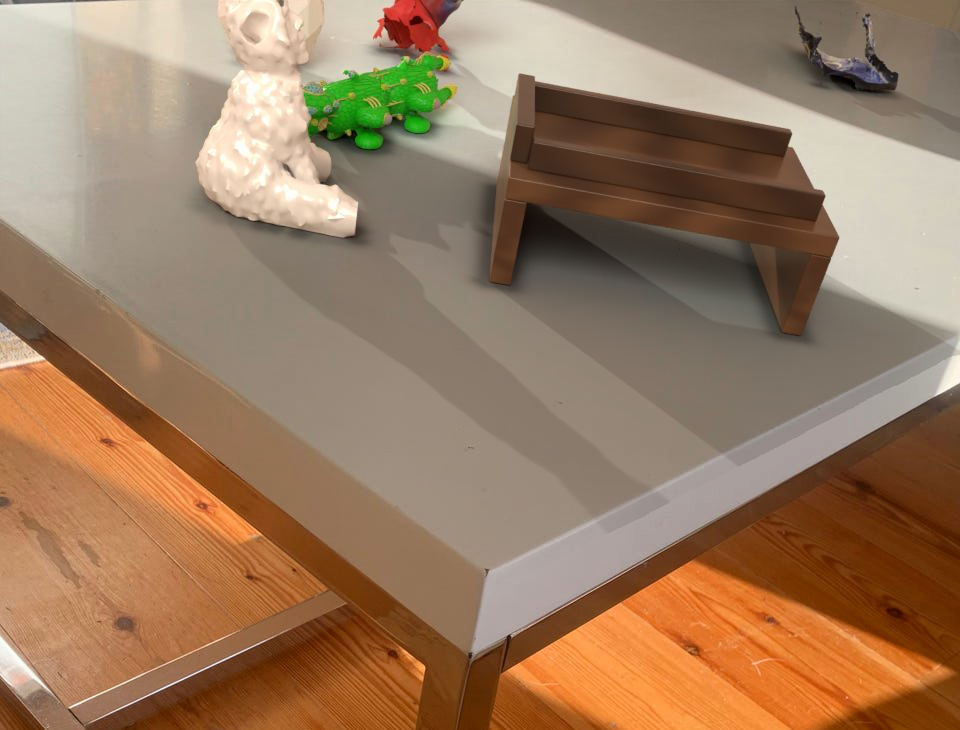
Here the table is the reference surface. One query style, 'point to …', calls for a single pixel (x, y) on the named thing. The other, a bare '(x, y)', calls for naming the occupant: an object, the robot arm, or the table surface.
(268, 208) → the white creature statuette
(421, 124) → the crocodile figurine
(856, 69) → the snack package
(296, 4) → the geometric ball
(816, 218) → the shoe shelf
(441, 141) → the table surface
